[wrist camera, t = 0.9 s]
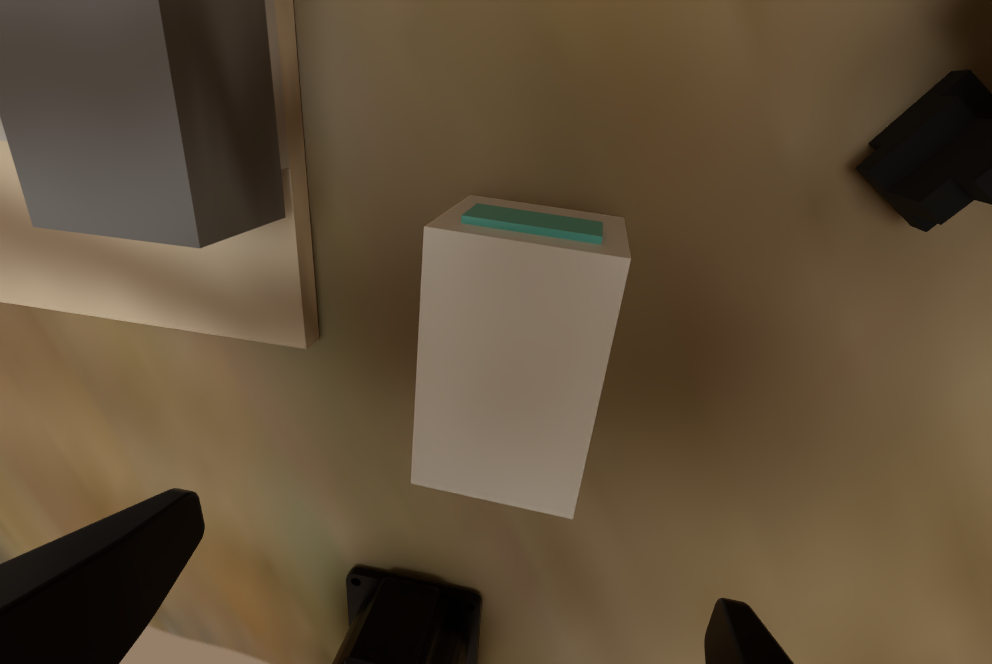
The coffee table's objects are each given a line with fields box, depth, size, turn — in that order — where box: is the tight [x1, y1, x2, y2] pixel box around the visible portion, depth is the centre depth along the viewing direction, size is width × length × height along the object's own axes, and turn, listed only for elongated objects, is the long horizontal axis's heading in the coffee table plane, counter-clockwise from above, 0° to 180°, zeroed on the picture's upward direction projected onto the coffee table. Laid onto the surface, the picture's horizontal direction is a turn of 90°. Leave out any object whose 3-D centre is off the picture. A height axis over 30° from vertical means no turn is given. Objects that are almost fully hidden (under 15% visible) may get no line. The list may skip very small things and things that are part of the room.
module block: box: [411, 195, 631, 519], centre depth 16 cm, size 8×5×5 cm, turn 174°
